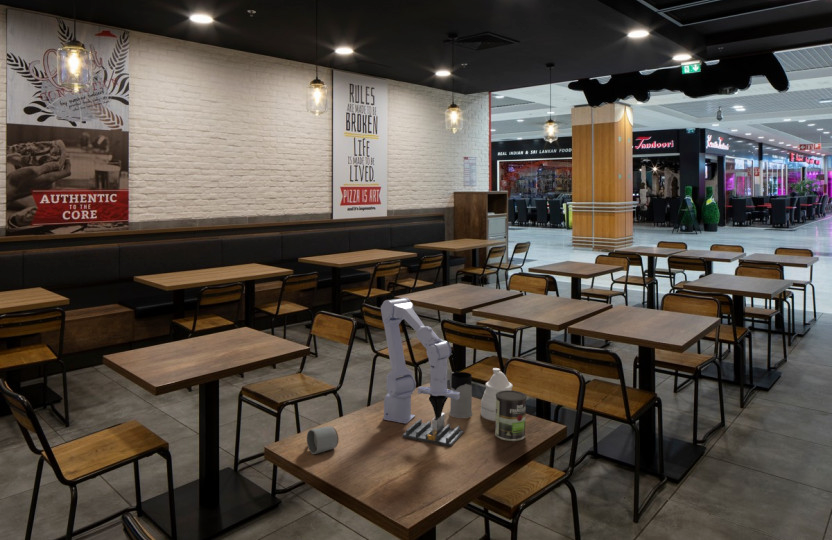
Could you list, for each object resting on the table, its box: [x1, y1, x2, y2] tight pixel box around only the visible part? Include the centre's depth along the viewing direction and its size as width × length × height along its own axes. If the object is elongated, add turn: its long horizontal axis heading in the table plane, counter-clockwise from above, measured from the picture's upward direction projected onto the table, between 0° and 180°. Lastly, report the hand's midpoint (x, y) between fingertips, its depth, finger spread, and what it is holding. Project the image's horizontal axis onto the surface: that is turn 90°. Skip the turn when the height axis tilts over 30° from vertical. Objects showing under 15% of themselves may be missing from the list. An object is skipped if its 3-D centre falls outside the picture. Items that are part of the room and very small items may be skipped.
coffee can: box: [494, 390, 527, 442], centre depth 195 cm, size 10×10×14 cm
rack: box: [402, 418, 464, 447], centre depth 195 cm, size 17×12×2 cm
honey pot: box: [480, 367, 514, 422], centre depth 213 cm, size 13×13×18 cm
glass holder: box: [449, 371, 473, 419], centre depth 217 cm, size 9×14×15 cm, turn 21°
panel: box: [431, 412, 446, 437], centre depth 194 cm, size 2×7×6 cm, turn 156°
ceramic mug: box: [306, 425, 340, 455], centre depth 185 cm, size 11×8×8 cm
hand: (438, 416), depth 194 cm, fingers closed, pressing on panel
